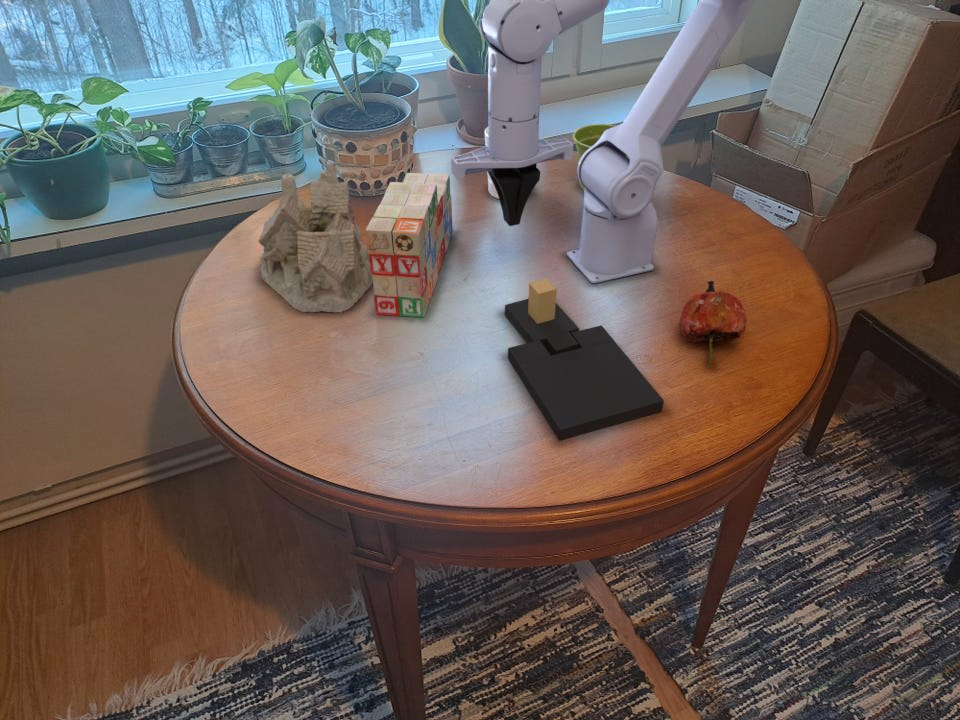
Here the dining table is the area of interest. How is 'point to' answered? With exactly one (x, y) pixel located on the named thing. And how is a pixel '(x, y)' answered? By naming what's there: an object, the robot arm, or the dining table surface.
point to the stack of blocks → (409, 243)
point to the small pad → (543, 331)
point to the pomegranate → (713, 317)
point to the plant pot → (588, 138)
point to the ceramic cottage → (315, 247)
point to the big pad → (584, 384)
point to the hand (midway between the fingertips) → (511, 221)
